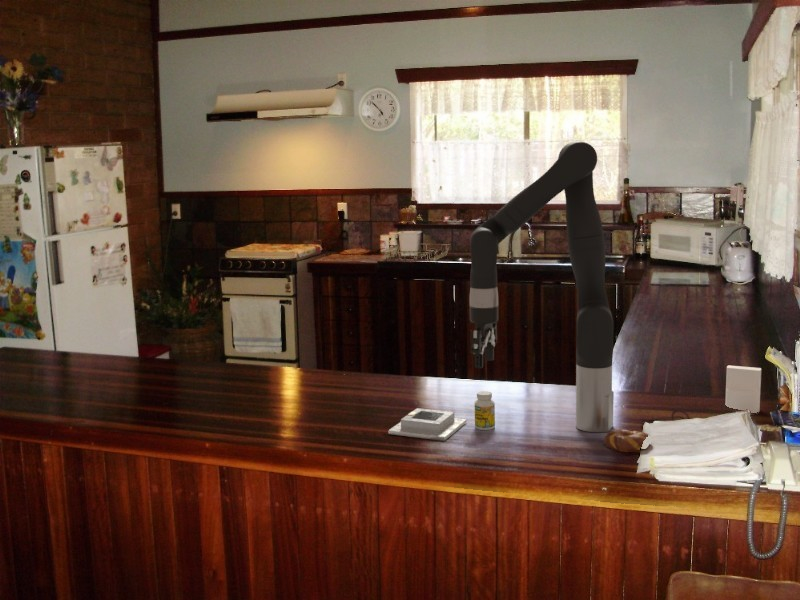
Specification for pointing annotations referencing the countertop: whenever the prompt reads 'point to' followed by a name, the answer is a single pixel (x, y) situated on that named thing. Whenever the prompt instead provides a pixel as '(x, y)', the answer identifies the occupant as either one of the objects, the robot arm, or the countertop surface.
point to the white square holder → (428, 424)
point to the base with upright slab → (743, 388)
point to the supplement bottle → (484, 411)
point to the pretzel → (624, 440)
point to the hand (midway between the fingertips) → (484, 364)
